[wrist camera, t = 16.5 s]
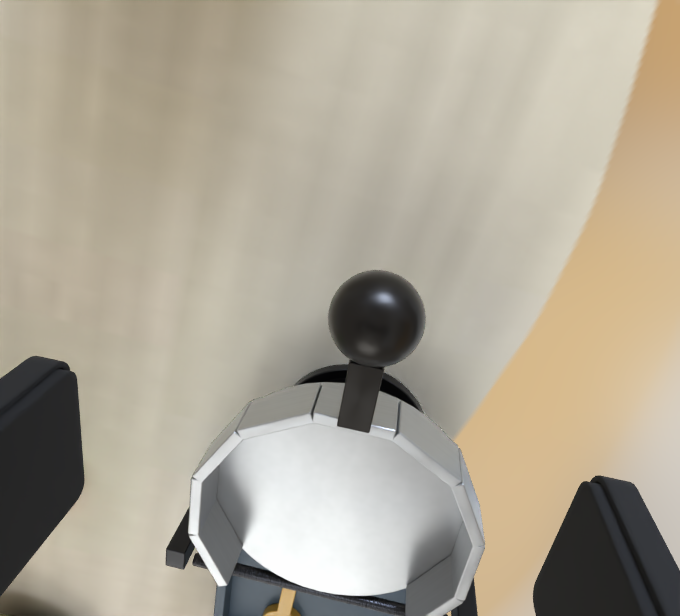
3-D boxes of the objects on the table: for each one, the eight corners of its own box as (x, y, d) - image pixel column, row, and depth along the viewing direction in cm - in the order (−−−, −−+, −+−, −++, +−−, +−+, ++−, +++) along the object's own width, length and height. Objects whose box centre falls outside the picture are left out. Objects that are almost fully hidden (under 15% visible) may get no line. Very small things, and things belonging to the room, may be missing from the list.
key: (258, 632, 35) (260, 624, 35) (297, 643, 34) (299, 635, 35) (272, 567, 32) (275, 558, 33) (314, 578, 32) (316, 570, 32)
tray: (237, 466, 31) (225, 490, 29) (443, 514, 30) (445, 542, 28) (220, 625, 37) (209, 653, 35) (393, 668, 36) (391, 700, 34)
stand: (207, 331, 27) (160, 386, 23) (529, 401, 26) (554, 475, 21) (197, 493, 32) (155, 568, 27) (471, 558, 31) (480, 649, 26)
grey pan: (221, 214, 20) (168, 247, 16) (568, 284, 19) (608, 338, 15) (196, 558, 27) (156, 641, 23) (445, 619, 26) (449, 716, 22)
